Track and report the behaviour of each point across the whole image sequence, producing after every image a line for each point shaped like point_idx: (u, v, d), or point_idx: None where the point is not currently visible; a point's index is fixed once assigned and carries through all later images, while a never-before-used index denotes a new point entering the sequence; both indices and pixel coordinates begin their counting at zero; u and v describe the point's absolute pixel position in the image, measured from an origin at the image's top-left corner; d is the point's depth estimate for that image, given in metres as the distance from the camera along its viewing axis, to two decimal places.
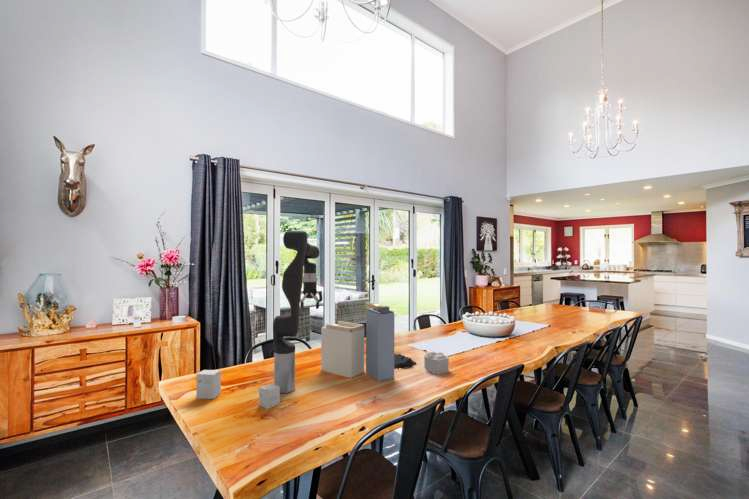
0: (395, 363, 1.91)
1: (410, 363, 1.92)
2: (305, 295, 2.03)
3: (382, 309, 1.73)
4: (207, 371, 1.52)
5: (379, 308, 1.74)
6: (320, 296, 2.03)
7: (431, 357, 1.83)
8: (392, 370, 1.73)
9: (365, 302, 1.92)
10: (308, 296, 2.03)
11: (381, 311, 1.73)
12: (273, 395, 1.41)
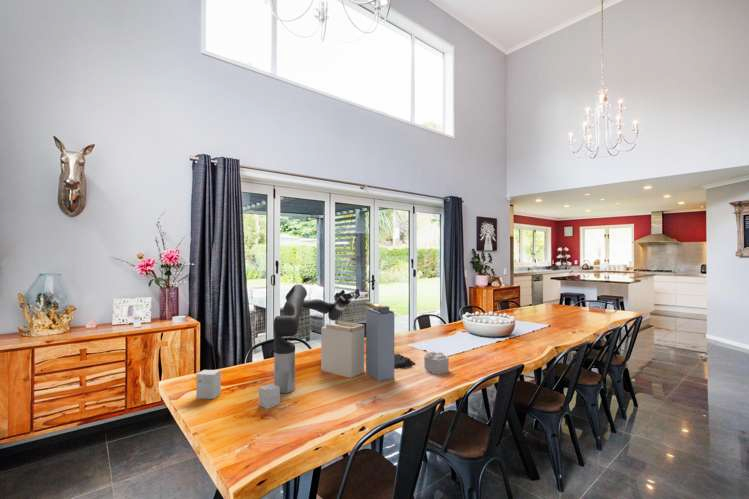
0: (394, 363, 1.91)
1: (409, 363, 1.92)
2: None
3: (382, 309, 1.73)
4: (207, 371, 1.52)
5: (379, 308, 1.74)
6: None
7: (431, 357, 1.83)
8: (392, 370, 1.73)
9: (365, 302, 1.92)
10: None
11: (381, 311, 1.73)
12: (273, 395, 1.41)
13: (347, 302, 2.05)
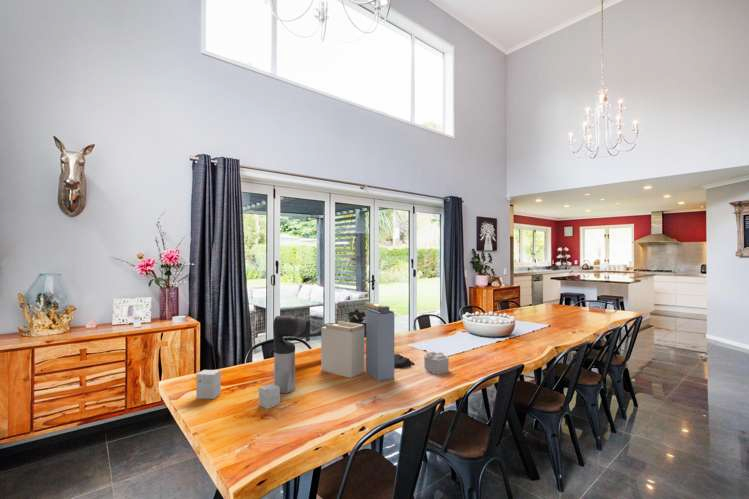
0: None
1: (408, 363, 1.91)
2: None
3: (382, 309, 1.73)
4: (207, 371, 1.52)
5: (379, 308, 1.74)
6: None
7: (431, 357, 1.83)
8: (392, 370, 1.73)
9: (365, 302, 1.92)
10: None
11: (381, 311, 1.73)
12: (273, 395, 1.41)
13: (360, 321, 2.03)
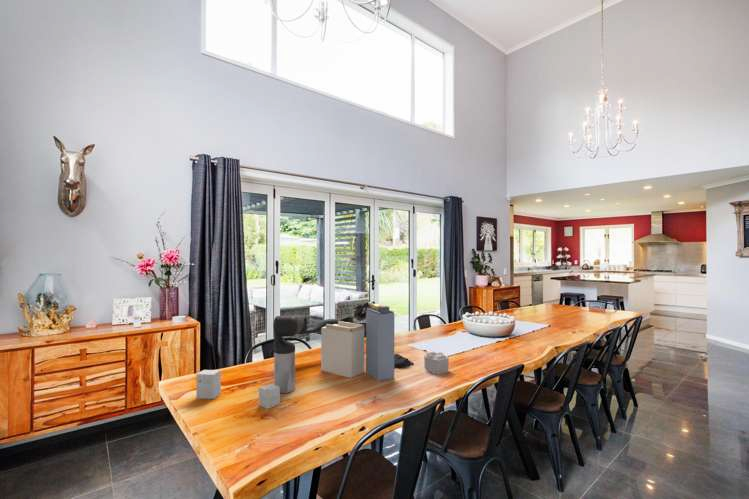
0: None
1: (407, 363, 1.91)
2: None
3: (382, 309, 1.73)
4: (207, 371, 1.52)
5: (379, 308, 1.73)
6: None
7: (431, 357, 1.83)
8: (392, 370, 1.73)
9: (365, 302, 1.92)
10: None
11: (381, 311, 1.73)
12: (273, 395, 1.41)
13: (365, 315, 1.97)
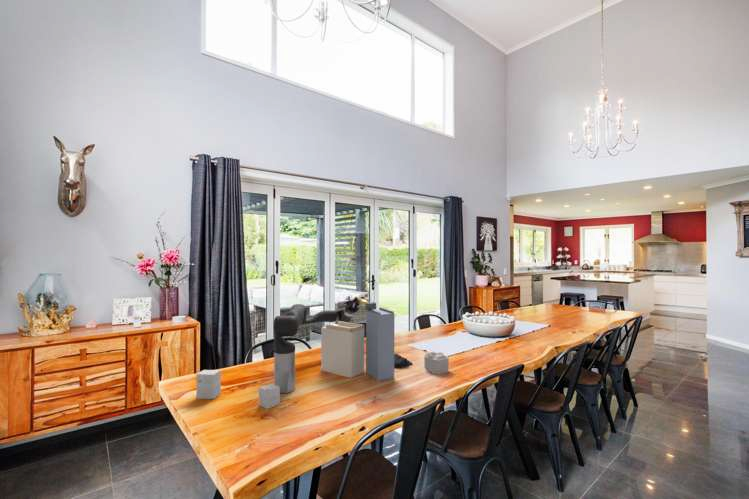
0: None
1: (405, 363, 1.91)
2: None
3: (369, 305, 1.78)
4: (207, 371, 1.52)
5: (366, 304, 1.79)
6: None
7: (431, 357, 1.83)
8: (392, 370, 1.73)
9: (355, 297, 1.97)
10: None
11: (368, 307, 1.78)
12: (273, 395, 1.41)
13: (356, 309, 2.03)
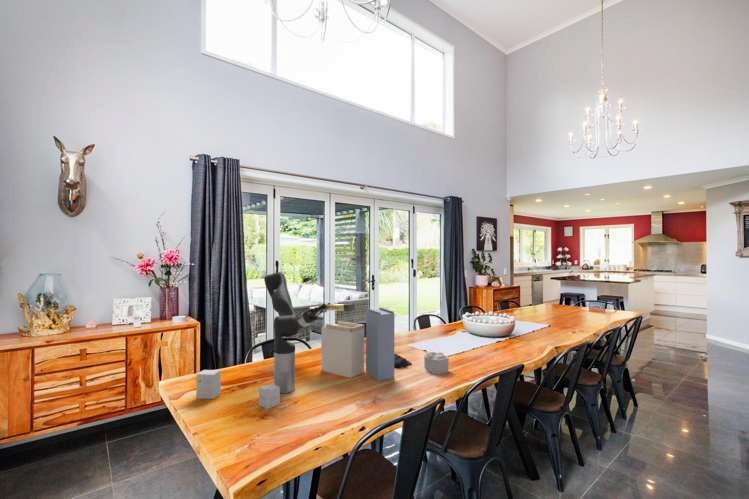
0: None
1: (404, 363, 1.91)
2: (314, 308, 1.93)
3: (349, 306, 1.80)
4: (207, 371, 1.52)
5: (346, 306, 1.80)
6: None
7: (431, 357, 1.83)
8: (392, 370, 1.73)
9: (319, 305, 1.92)
10: None
11: (348, 308, 1.79)
12: (273, 395, 1.41)
13: (316, 317, 1.96)
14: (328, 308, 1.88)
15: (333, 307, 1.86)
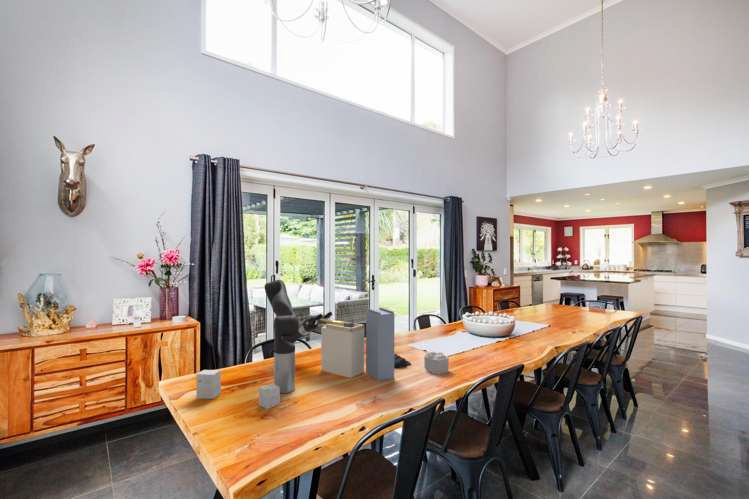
0: None
1: (404, 363, 1.91)
2: None
3: (349, 325, 1.80)
4: (207, 371, 1.52)
5: (346, 324, 1.80)
6: None
7: (431, 357, 1.83)
8: (392, 370, 1.73)
9: (319, 319, 1.92)
10: None
11: None
12: (273, 395, 1.41)
13: (316, 326, 1.96)
14: None
15: (333, 324, 1.86)
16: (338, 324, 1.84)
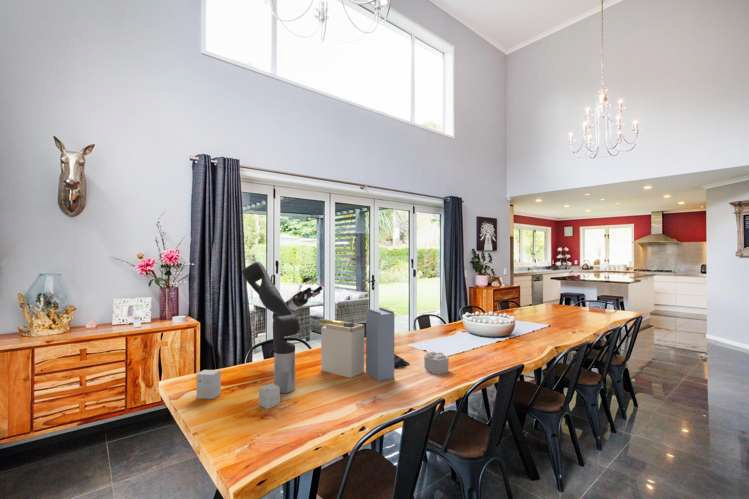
0: None
1: (402, 364, 1.91)
2: None
3: (349, 325, 1.80)
4: (207, 371, 1.52)
5: (346, 324, 1.80)
6: None
7: (431, 357, 1.83)
8: (392, 370, 1.73)
9: (319, 319, 1.92)
10: None
11: None
12: (273, 395, 1.41)
13: (306, 301, 1.94)
14: None
15: (333, 324, 1.86)
16: (338, 324, 1.84)
